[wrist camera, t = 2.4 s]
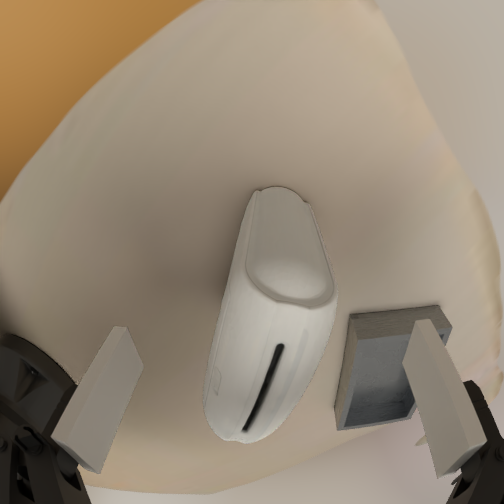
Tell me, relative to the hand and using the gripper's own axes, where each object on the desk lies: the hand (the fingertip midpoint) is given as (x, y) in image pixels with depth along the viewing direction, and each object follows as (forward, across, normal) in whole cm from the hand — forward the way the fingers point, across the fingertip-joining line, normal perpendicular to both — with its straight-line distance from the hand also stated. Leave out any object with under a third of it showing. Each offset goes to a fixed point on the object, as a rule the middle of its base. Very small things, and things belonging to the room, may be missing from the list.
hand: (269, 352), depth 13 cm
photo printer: (+9, +1, 0) cm, 9 cm away
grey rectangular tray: (+9, -10, +12) cm, 18 cm away
